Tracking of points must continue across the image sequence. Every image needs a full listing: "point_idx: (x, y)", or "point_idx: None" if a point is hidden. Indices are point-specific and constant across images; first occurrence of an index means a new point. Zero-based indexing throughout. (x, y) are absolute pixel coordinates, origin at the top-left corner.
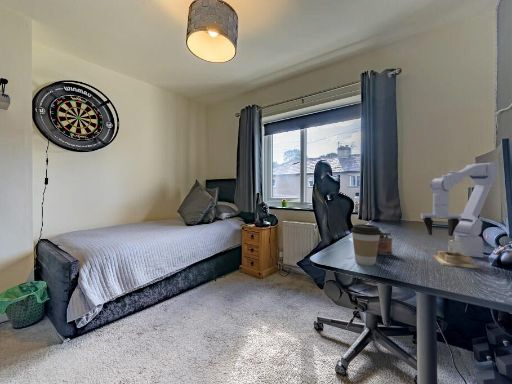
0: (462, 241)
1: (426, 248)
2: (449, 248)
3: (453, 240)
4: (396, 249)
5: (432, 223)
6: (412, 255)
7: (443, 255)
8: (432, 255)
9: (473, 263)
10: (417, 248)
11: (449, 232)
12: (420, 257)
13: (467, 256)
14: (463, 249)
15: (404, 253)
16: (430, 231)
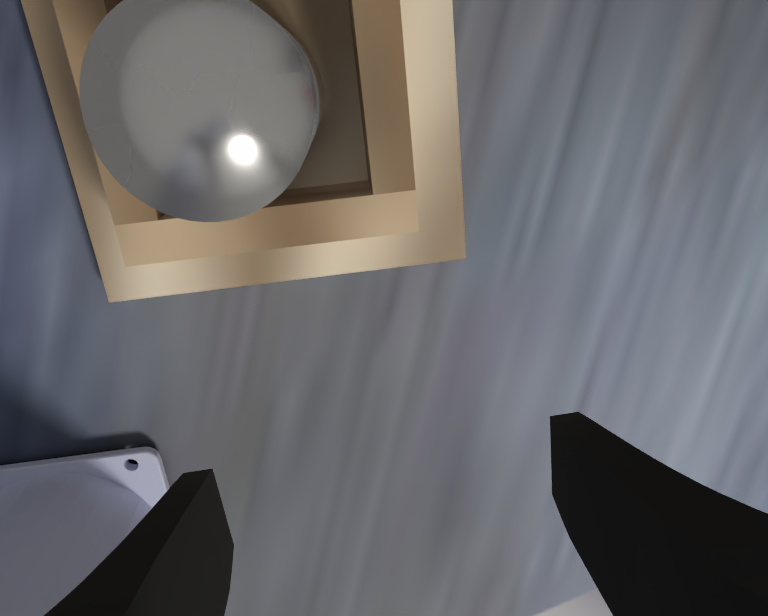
0: (39, 611)
1: (416, 609)
2: (311, 65)
3: (215, 160)
4: (760, 416)
5: (718, 565)
6: (670, 206)
7: (398, 15)
8: (463, 232)
9: (48, 22)
10: (511, 567)
11: (212, 558)
12: (604, 146)
13: (83, 23)
14: (74, 519)
15: (734, 263)
16: (613, 440)
